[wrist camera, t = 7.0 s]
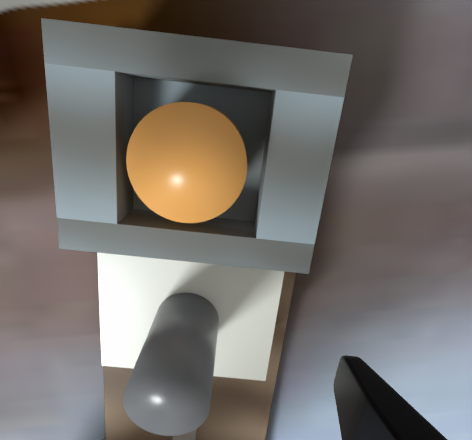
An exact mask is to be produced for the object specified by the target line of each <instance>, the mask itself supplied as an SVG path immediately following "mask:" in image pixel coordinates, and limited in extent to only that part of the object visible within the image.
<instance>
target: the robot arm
mask: <svg viewBox="0 0 472 440" xmlns="http://www.w3.org/2000/svg"><path fill="white" fill-rule="evenodd" d="M334 393H335V399H336V405H337V412H338V418H339V424H340V430H341V436H342V440H447V439H446V438H445V437H444V436H443V435H442V434H441V433H440V432H439V431H438V430H436V429H435V428H434V427H433V426H432V425H431V424H430V423H429V422H428V421H427V420H426V419H425V418H424V417H423V416H422V415H420V414H419V413H418V412H417V411H416V410H415V409H414V408H413V407H412V406H411V405H410V404H409V403H408V402H407V401H406V400H405V399H403V398H402V397H401V396H400V395H399V394H398V393H397V392H396V391H395V390H394V389H393V388H392V387H391V386H390V385H389V384H387V383H386V382H385V381H384V380H383V379H382V378H381V377H380V376H379V375H378V374H377V373H376V372H375V371H374V370H373V369H371V368H370V367H369V366H368V365H367V364H366V363H365V362H364V361H363V360H362V359H361V358H359V357H355V356H342V357H341V359H340V362H339V365H338V369H337V372H336V376H335V379H334Z"/></svg>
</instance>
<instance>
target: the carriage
mask: <svg viewBox="0 0 472 440" xmlns="http://www.w3.org/2000/svg"><path fill="white" fill-rule="evenodd" d="M97 257H98V284H99V310H100V337H101V363H102V366H111V367H121V368H132V369H133V371H132V374H131V376H130V378H129V381H128V383H127V386H126V388H125V391H124V394H123V406H124V409H125V411H126V413H127V415H128V417H129V418H130V419H131V420H132V421H133V422H134V423H135V424H136V425H138V426H139V427H140V428H142V429H144V430H146V431H148V432H151V433H154V434H158V435H164V436H176V435H182V434H186V433H189V432H191V431H193V430H195V429H197V428H198V427H199V426H200V425H202V424H203V422H204V421H205V420H206V418H207V417H208V414H209V411H210V403H211V393H212V384H213V376H217V377H228V378H239V379H249V380H260V381H266V375H267V369H268V364H269V358H270V352H271V346H272V341H273V335H274V329H275V323H276V318H277V312H278V306H279V300H280V295H281V289H282V283H283V277H284V272H285V271H275V270H265V269H255V268H245V267H236V266H226V265H216V264H206V263H196V262H186V261H176V260H167V259H157V258H147V257H137V256H127V255H117V254H107V253H98V252H97Z"/></svg>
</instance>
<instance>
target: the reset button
mask: <svg viewBox="0 0 472 440" xmlns="http://www.w3.org/2000/svg"><path fill="white" fill-rule="evenodd" d="M126 164H127V171H128V176H129V179H130V182H131V184H132V186H133V189H134V190H135V192H136V194H137V195H138V197H139V198H140V199H141V200H142V202H143V203H144V204H145V205H146V206H147V207H148V208H150V209H151V210H152V211H154V212H155V213H157V214H158V215H160V216H162V217H164V218H166V219H169V220H172V221H176V222H181V223H199V222H204V221H207V220H210V219H213V218H215V217H217V216H219V215H220V214H222V213H223V212H225V211H226V210H227V209H228V208H230V207H231V206H232V204H233V203H234V202H235V201H236V199H237V198H238V196H239V195H240V193H241V191H242V189H243V186H244V183H245V180H246V175H247V156H246V149H245V144H244V141H243V138H242V135H241V133H240V131H239V130H238V128H237V127H236V125H235V124H234V123H233V121H232V120H231V119H230V118H229V117H228V116H226V115H225V114H224V113H222V112H221V111H219V110H218V109H216V108H214V107H211V106H208V105H205V104H199V103H192V102H176V103H170V104H166V105H163V106H161V107H159V108H157V109H155V110H153V111H151V112H150V113H149V114H148V115H146V116H145V117H144V118H143V119H142V120H141V121H140V122H139V123H138V125H137V126H136V128H135V129H134V131H133V133H132V135H131V137H130V140H129V143H128V147H127V154H126Z"/></svg>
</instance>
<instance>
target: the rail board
mask: <svg viewBox="0 0 472 440" xmlns="http://www.w3.org/2000/svg"><path fill="white" fill-rule="evenodd" d="M41 23H42V36H43V48H44V61H45V74H46V86H47V99H48V111H49V124H50V137H51V149H52V162H53V174H54V187H55V200H56V212H57V225H58V238H59V249H68V250H78V251H88V252H98V253H107V254H117V255H127V256H137V257H147V258H157V259H167V260H176V261H186V262H196V263H206V264H216V265H226V266H236V267H245V268H255V269H265V270H275V271H285V272H284V277H283V283H282V289H281V295H280V300H279V306H278V312H277V318H276V323H275V329H274V335H273V341H272V346H271V352H270V358H269V364H268V369H267V375H266V381H260V380H249V379H239V378H228V377H217V376H213V384H212V393H211V403H210V411H209V414H208V417H207V418H206V420H205V421H204V422H203V424H202V425H200V426H199V427H198V428H197V429H195V430H193V431H191V432H189V433H186V434H182V435H176V436H164V435H158V434H154V433H151V432H148V431H146V430H144V429H142V428H140V427H139V426H138V425H136V424H135V423H134V422H133V421H132V420H131V419H130V418H129V417H128V415H127V413H126V411H125V409H124V406H123V394H124V391H125V388H126V386H127V383H128V381H129V378H130V376H131V374H132V371H133V369H132V368H121V367H111V366H103V375H104V403H105V431H106V440H265V437H266V431H267V426H268V421H269V415H270V410H271V405H272V399H273V394H274V389H275V383H276V378H277V373H278V367H279V362H280V357H281V351H282V346H283V341H284V335H285V330H286V325H287V319H288V314H289V309H290V303H291V298H292V293H293V287H294V282H295V277H296V273H305V274H309V270H310V265H311V260H312V255H313V250H314V245H315V240H316V235H317V230H318V225H319V220H320V215H321V210H322V205H323V200H324V195H325V191H326V186H327V181H328V176H329V171H330V166H331V161H332V156H333V151H334V146H335V141H336V136H337V131H338V126H339V121H340V116H341V111H342V106H343V101H344V96H345V91H346V87H347V82H348V77H349V72H350V67H351V62H352V57H353V55H351V54H343V53H334V52H326V51H317V50H308V49H300V48H291V47H283V46H274V45H266V44H257V43H249V42H240V41H232V40H223V39H214V38H206V37H197V36H189V35H180V34H172V33H163V32H155V31H146V30H138V29H129V28H120V27H112V26H103V25H95V24H86V23H78V22H69V21H61V20H52V19H44V18H41ZM176 102H192V103H199V104H205V105H208V106H211V107H214V108H216V109H218V110H219V111H221V112H222V113H224V114H225V115H226V116H228V117H229V118H230V119H231V120H232V121H233V123H234V124H235V125H236V127H237V128H238V130H239V131H240V133H241V135H242V138H243V141H244V144H245V149H246V156H247V175H246V180H245V183H244V186H243V189H242V191H241V193H240V195H239V196H238V198H237V199H236V201H235V202H234V203H233V204H232V206H231V207H230V208H228V209H227V210H226V211H225V212H223V213H222V214H220V215H219V216H217V217H215V218H213V219H210V220H207V221H204V222H199V223H181V222H176V221H172V220H169V219H166V218H164V217H162V216H160V215H158V214H157V213H155V212H154V211H152V210H151V209H150V208H148V207H147V206H146V205H145V204H144V203H143V202H142V200H141V199H140V198H139V197H138V195H137V194H136V192H135V190H134V189H133V186H132V184H131V182H130V179H129V176H128V171H127V164H126V154H127V147H128V143H129V140H130V137H131V135H132V133H133V131H134V129H135V128H136V126H137V125H138V123H139V122H140V121H141V120H142V119H143V118H144V117H145V116H146V115H148V114H149V113H150V112H151V111H153V110H155V109H157V108H159V107H161V106H163V105H166V104H170V103H176Z"/></svg>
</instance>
